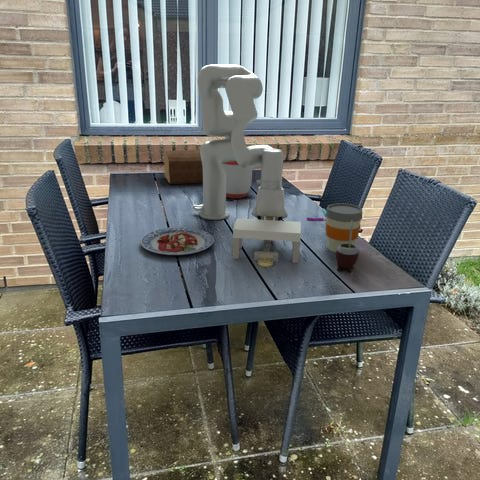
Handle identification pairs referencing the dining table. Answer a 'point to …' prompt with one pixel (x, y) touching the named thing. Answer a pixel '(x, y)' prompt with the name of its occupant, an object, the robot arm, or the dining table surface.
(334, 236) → the reusable coffee cup
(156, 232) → the ceramic plate
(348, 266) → the mate gourd
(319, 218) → the squeegee
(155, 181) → the dining table surface
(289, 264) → the dining table surface
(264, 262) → the brass token
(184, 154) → the bread
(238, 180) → the citrus juicer
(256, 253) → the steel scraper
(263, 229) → the white bench
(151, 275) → the dining table surface
